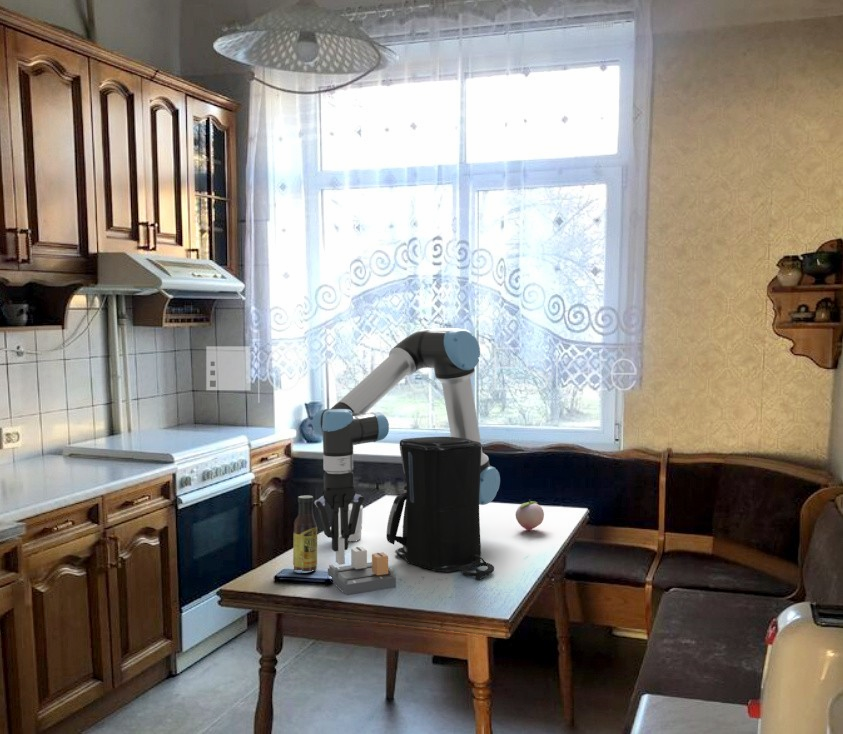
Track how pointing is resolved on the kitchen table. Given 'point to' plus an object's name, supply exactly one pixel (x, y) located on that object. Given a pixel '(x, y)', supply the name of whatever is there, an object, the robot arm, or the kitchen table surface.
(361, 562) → the white fader
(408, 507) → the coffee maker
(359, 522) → the white cup
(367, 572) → the panel
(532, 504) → the decorative fruit
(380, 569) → the orange fader
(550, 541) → the kitchen table surface
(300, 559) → the sauce bottle
